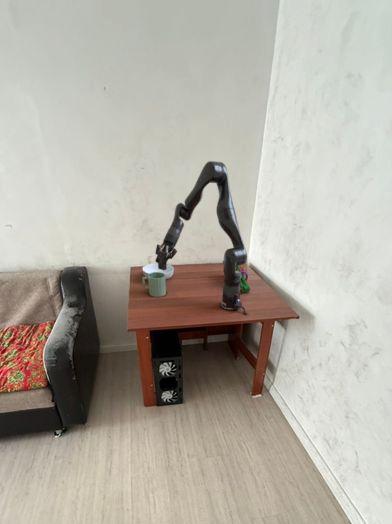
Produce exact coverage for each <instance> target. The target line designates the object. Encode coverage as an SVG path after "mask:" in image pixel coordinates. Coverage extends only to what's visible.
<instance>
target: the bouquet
mask: <svg viewBox="0 0 392 524" xmlns="http://www.w3.org/2000/svg"><path fill="white" fill-rule="evenodd" d="M247 263H248V260H247V261H246V263H245V264H247ZM222 264H223V265H224V259H223V260H222ZM245 264H243V265H239V266H235V270H236V271H239V272H240V273H241V283H240V290H241V292H242V293H250V292H251V287H250V286H249V284H248V283H247V281H248V279H249V275H248V272H246V271H244V269H245Z"/></svg>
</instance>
